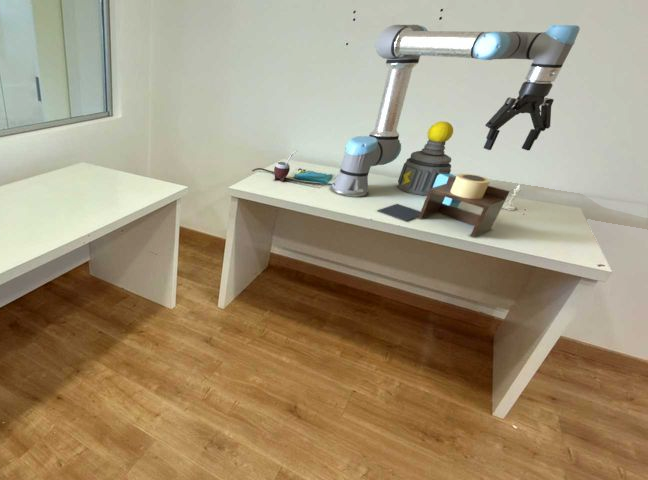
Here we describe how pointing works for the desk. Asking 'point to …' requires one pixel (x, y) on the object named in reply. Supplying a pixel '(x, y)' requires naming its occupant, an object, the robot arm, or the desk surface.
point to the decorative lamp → (427, 161)
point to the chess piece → (511, 200)
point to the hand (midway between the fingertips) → (506, 149)
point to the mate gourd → (282, 169)
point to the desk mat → (401, 212)
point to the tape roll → (470, 186)
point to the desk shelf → (488, 202)
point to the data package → (442, 180)
